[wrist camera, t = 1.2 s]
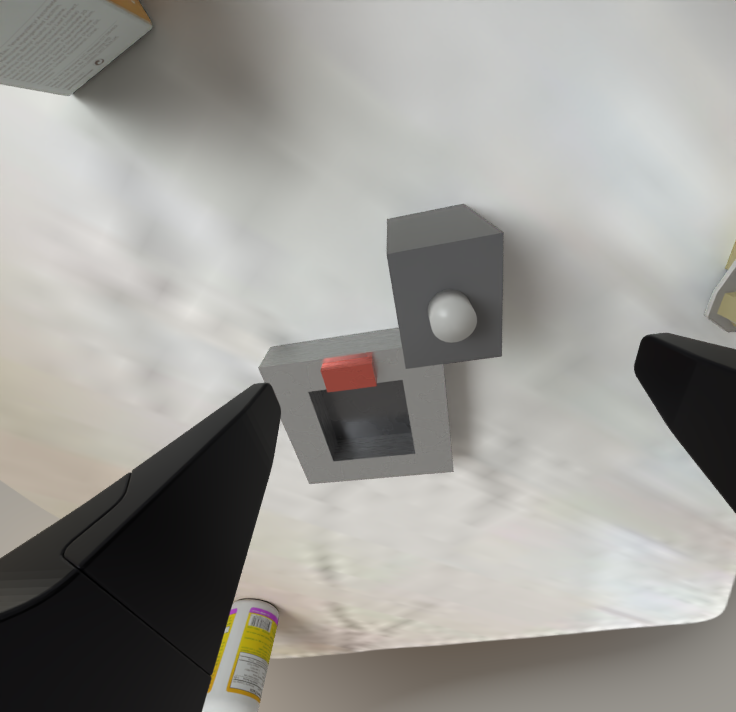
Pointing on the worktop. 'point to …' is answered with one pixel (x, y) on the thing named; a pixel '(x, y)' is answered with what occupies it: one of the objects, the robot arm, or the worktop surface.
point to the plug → (446, 285)
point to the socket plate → (360, 408)
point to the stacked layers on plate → (724, 298)
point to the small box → (64, 40)
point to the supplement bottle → (243, 658)
